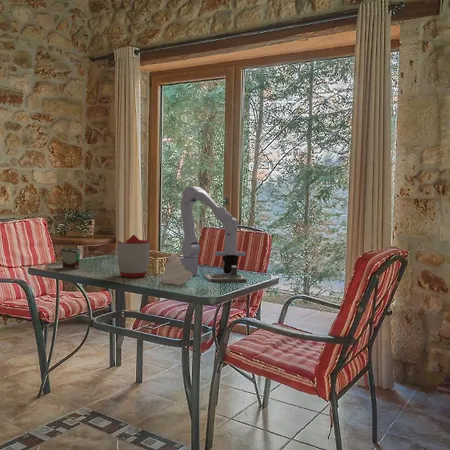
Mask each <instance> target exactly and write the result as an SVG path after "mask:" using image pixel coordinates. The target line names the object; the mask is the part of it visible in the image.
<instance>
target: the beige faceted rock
mask: <svg viewBox="0 0 450 450" xmlns="http://www.w3.org/2000/svg"><path fill="white" fill-rule="evenodd" d="M164 266H165V272H164V274H163V275H162V276H161V277H160V281H161V282H162V283H163V284H168V285H169V284H170V285H177V286H182V285H183V284H184V283H186V282H187V281H189V280H190V279H191V278H193V275H192V272H189V271H187V270H185V267H184V266H183V265H182V264H181V262H180V260H179V258H178V254H176V253H173V252H172V253H171V254H170V256H169V257H168V259H167V262H166V263H165V264H164Z"/></svg>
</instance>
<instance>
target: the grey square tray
mask: <svg viewBox="0 0 450 450" xmlns="http://www.w3.org/2000/svg"><path fill="white" fill-rule="evenodd" d="M208 274H209V273H205V274H204V276H205V275H208ZM211 282H212V283H247V281H246V279H212V281H211Z"/></svg>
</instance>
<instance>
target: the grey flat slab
mask: <svg viewBox="0 0 450 450" xmlns="http://www.w3.org/2000/svg"><path fill="white" fill-rule="evenodd" d="M207 274H208V275H205V274H204V278H205V279H207V281H208V282H212V279H246V282H247V277H245V275H242V274H241V273H238V272H237V274H238V275H229V274H230V273H224V272H223V273H222V272H221V273H219V272H218V273H207Z"/></svg>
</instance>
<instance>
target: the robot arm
mask: <svg viewBox="0 0 450 450" xmlns="http://www.w3.org/2000/svg"><path fill="white" fill-rule="evenodd" d="M197 201H201V202H203V203H204V204H205V205H206V206H207V207H208V208H210V210H212V211H213V216H214V217H216V219H218V221H219V222H220V223H221V224H222V226H223V228H224V250H223V251H220V250H219V251H214V256H215V257H223V256H225V258H226V260H227V263H228V271H231V266H232V264H233V262H234V260H235V256H239V257H246V252H245V251H237V247H238V246H237V243H238V242H237V239H238V228H239V226H240V221H239V220H238V218H237V217H234V216H233V215H232V214H231V213H229V212H228V210H227V208H226V207H225V206H219V205H218V204H217V203H216V202H215V200H213V199H212V197H211V196H210V195H209V194H208V192H207V191H206V190H204V189H203V188H202V186H192V185H188V186H186V187H185V188H184V190H183V191H182V197H181V200H180V211H181V219H182V227H183V234H184V235H183V236H184V239H183V240H182V242H181V254H182V256H180V257H179V258H178V259H179V260H180V262H181V264H182V265H183V266H184V267H185V270H187V271H189V272H192V275H193V276H194V277H195V276H196V277H197V276H200V273H199V269H198V268H199V254H200V253H201V246H200V244H199V240H198V239H197V237H196V231H195V230H196V229H195V223H194V214H193V205H194V204H195V203H196V202H197ZM227 254H234V255H227Z"/></svg>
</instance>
